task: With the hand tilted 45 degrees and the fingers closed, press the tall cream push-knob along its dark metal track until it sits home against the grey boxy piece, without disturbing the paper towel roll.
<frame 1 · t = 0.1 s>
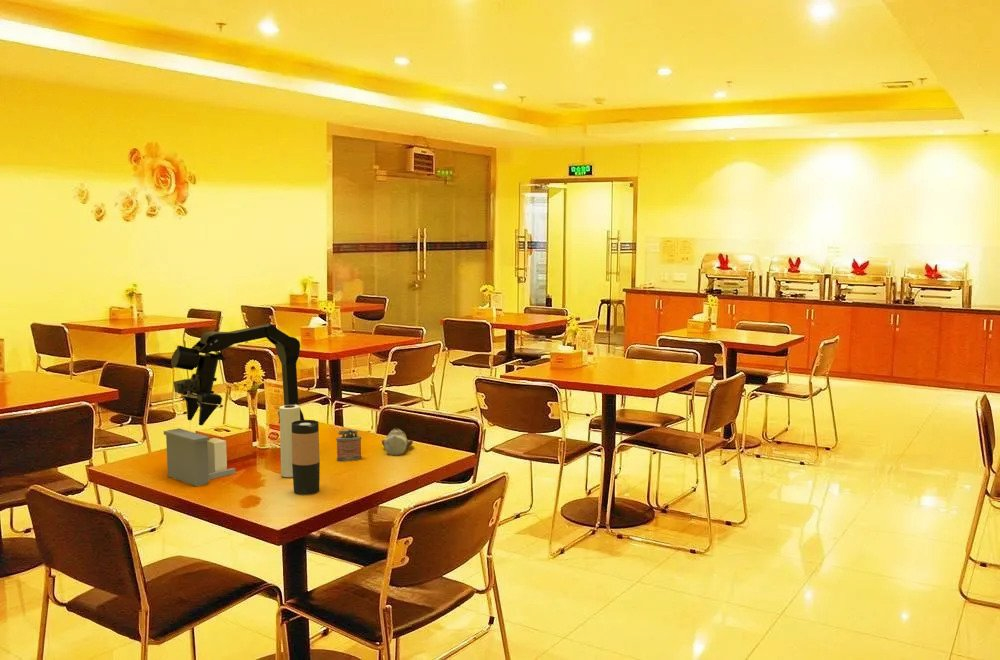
hand: (194, 422, 265), 15 cm above the table, fingers open, 9 cm apart
paper towel roll: (292, 475, 264), on the table
ceramic sculpture: (396, 452, 292), on the table
travel mug: (306, 492, 247), on the table
lighter: (349, 460, 281), on the table
push knob: (215, 456, 264), point 5 cm above the table, slide at 0.0 cm
grey boxy piece: (188, 480, 258), on the table
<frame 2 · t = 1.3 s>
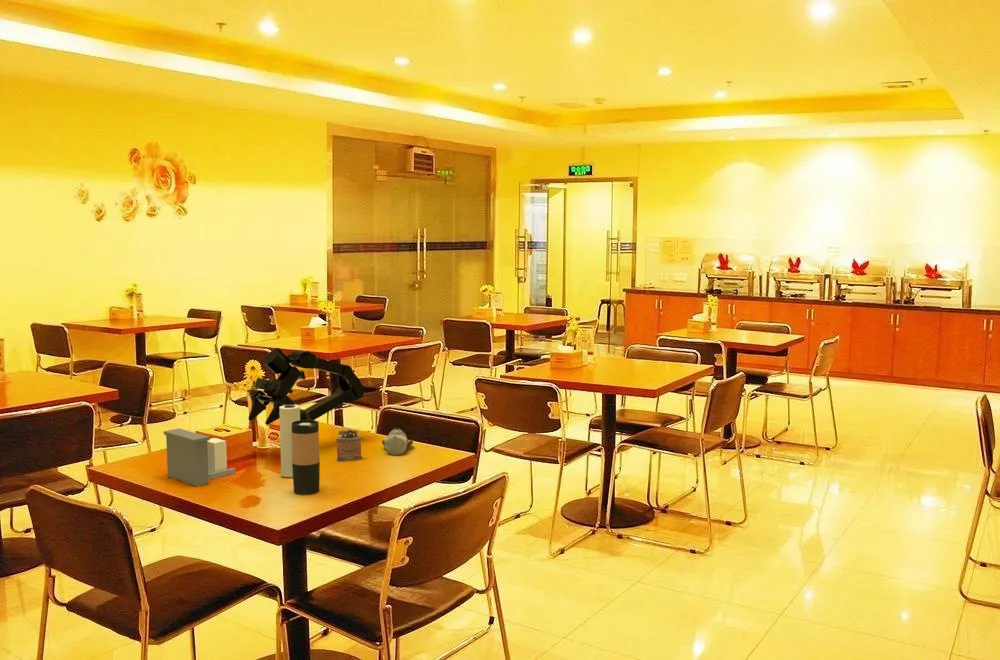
hand: (257, 422, 275), 13 cm above the table, fingers open, 9 cm apart
nothing on the table moved.
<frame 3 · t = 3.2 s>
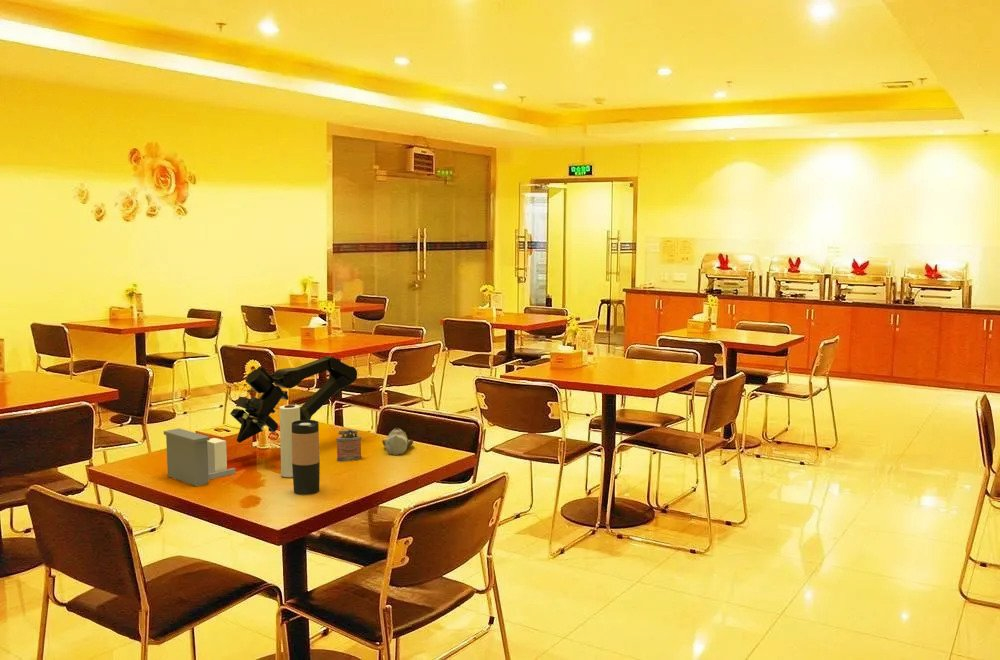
hand: (238, 441, 270), 8 cm above the table, fingers closed
nothing on the table moved.
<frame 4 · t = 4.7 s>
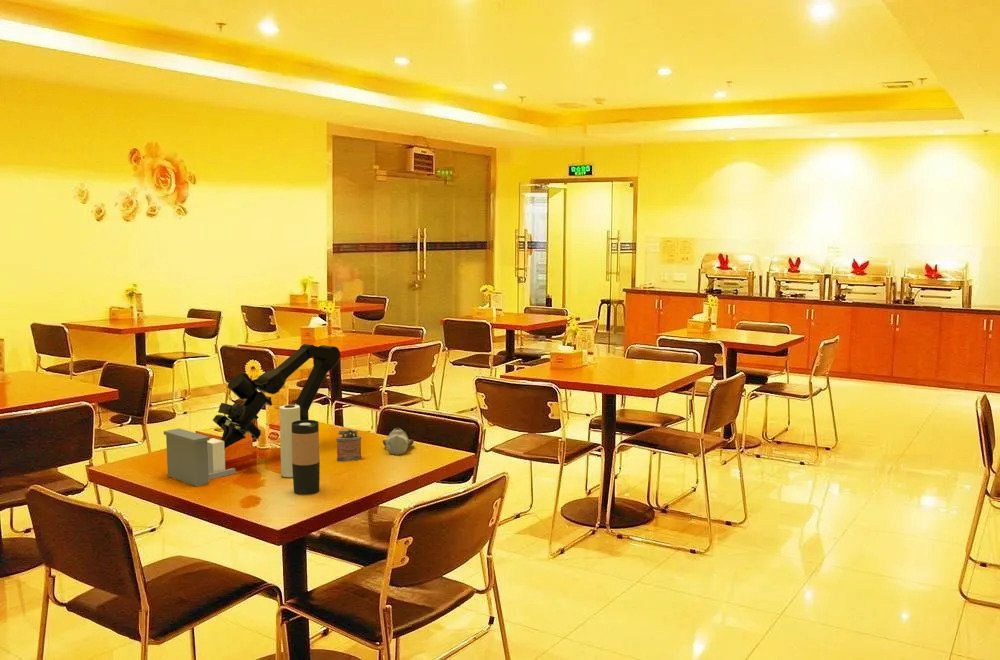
hand: (220, 448, 265), 7 cm above the table, fingers closed, pressing on push knob
push knob: (213, 456, 264), point 5 cm above the table, slide at 0.6 cm, touching gripper
everything else where it was.
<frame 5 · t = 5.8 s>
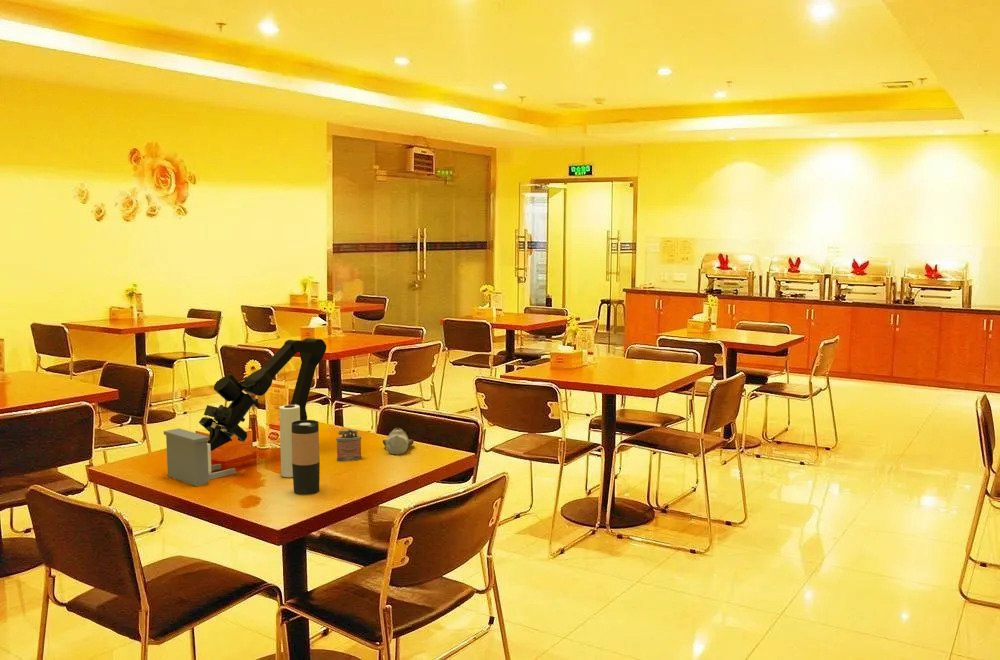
hand: (206, 451, 262), 7 cm above the table, fingers closed, pressing on push knob
push knob: (199, 459, 260), point 5 cm above the table, slide at 5.3 cm, touching grey boxy piece, gripper
everything else where it was.
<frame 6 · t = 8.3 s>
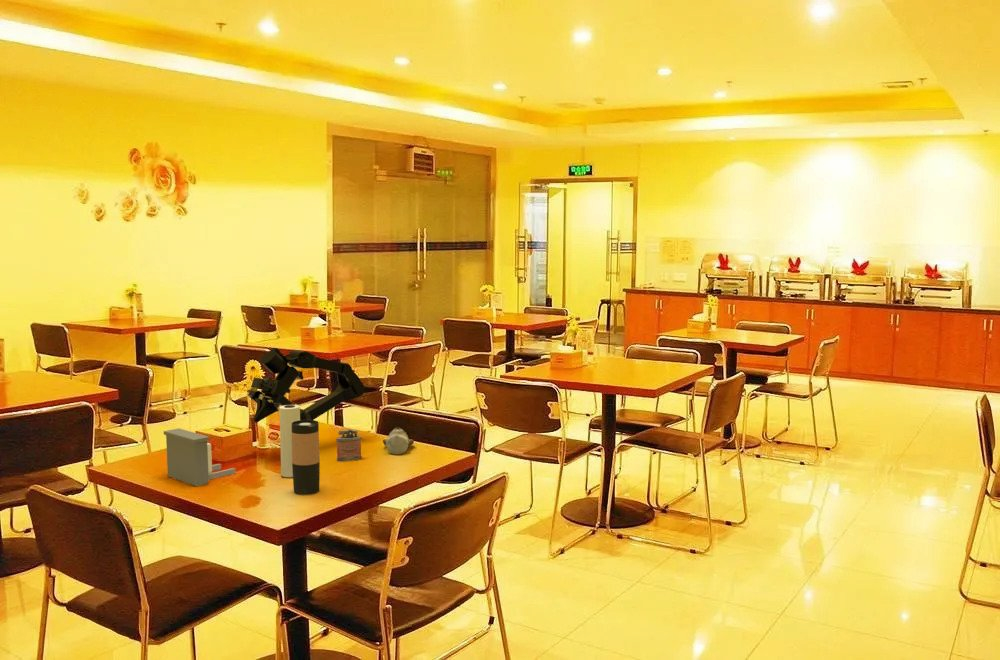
hand: (254, 421, 275), 14 cm above the table, fingers closed
push knob: (200, 459, 260), point 5 cm above the table, slide at 5.0 cm
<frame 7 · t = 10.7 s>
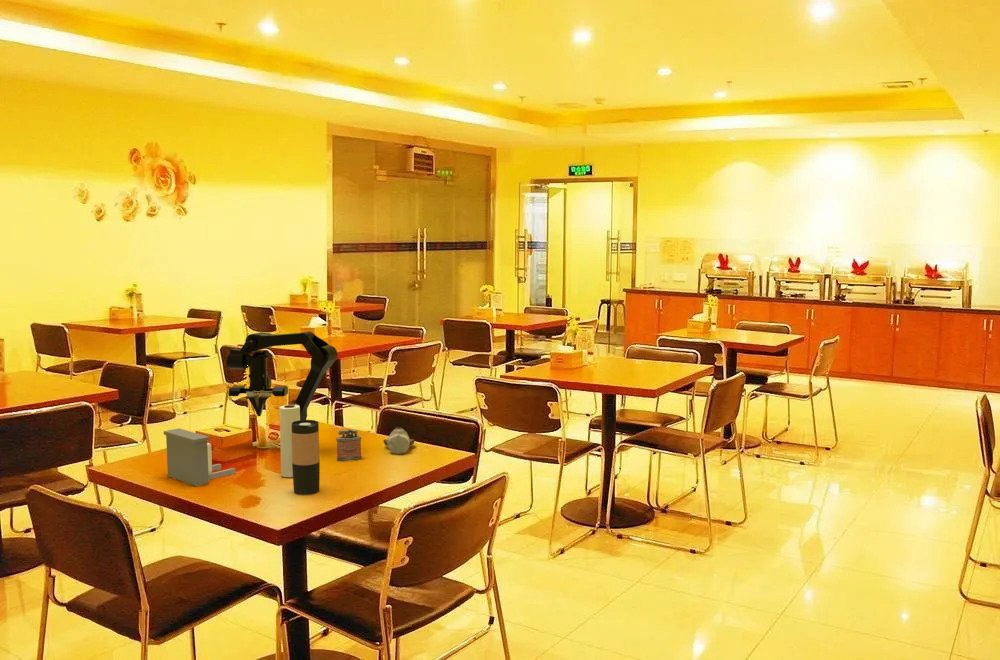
hand: (259, 416, 291), 12 cm above the table, fingers closed
at the end: push knob slide at 5.0 cm; paper towel roll moved 0.2 cm from its start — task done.
